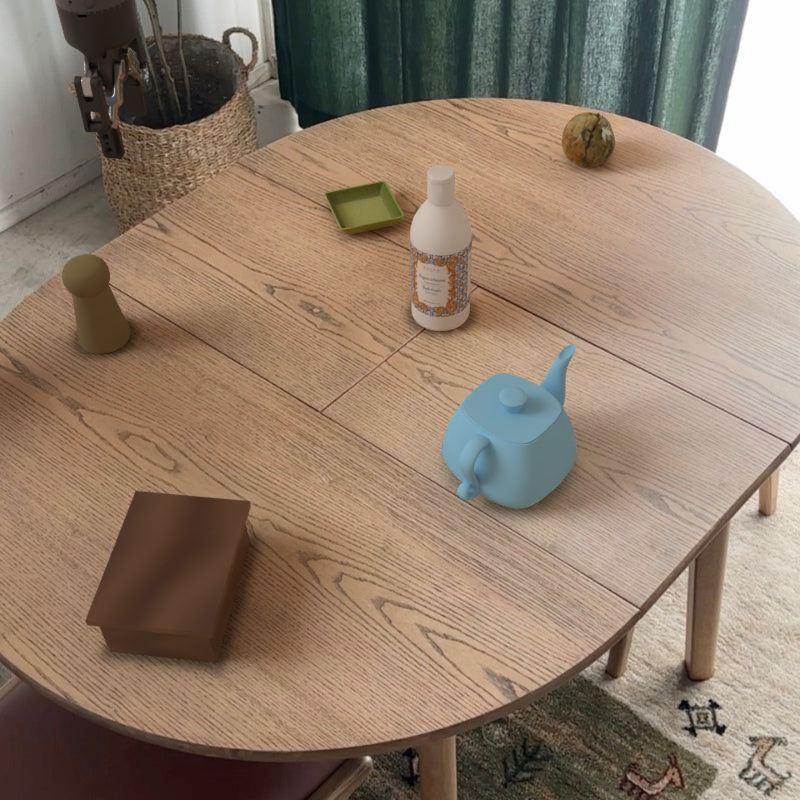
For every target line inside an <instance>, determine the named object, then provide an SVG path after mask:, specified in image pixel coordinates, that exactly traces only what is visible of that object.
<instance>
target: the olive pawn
mask: <svg viewBox="0 0 800 800" xmlns="http://www.w3.org/2000/svg"><path fill="white" fill-rule="evenodd" d="M61 280H62V284H63V286H64V288H66V290H67V291H68V292H69V294H71V297H72V304H73V310H74V318H75V323H76V324H75V325H76V330H77V337H78V342H79V346H80V347H81V348H82V349H83V350H84V351H86V352H88V353H90V354H95V355H99V354H100V355H105V354H108V353H112V352H115V351H117V350H120V349H121V348H122V347H124V346H125V345H126V344H127V342H128V341H129V340H130V338H131V334H132V333H131V328H130V326H129V324H128V322H127V319H126V317H125V316H124V313H123V311H122V309H121V307H120V305H119V303H118V301H117V299H116V296H115V295H114V293H113V290H112V288H111V286H110V281H111V273H110V269H109V265H108V263H107V262H106V261H105V260H104V259H103V258H101V257H100V256H98V255H96V254H91V253H87V254H84V253H83V254H80V255H79V254H78V255H77V256H74V257H71V258H70V259H69V260H67V261H66V263H65V264H64V265H63V267H62V271H61Z"/></svg>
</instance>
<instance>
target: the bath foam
mask: <svg viewBox="0 0 800 800" xmlns="http://www.w3.org/2000/svg"><path fill="white" fill-rule="evenodd" d="M426 185H427V186H426V187H427V189H426V190H427V191H426V192H427V198H426V200H424V202H423V203H422V204H421V205H420V206H419V208H418V209H417V211H416V213H415V214H414V216H413V218H412V221H411V225H410V231H409V260H410V261H409V265H410V267H409V268H410V269H409V270H410V301H411V302H410V303H411V315H412V318H413V319H414V321H415V322H416V323H417V324H418V325H419V326H421V327H422V328H424V329H427V330H430V331H435V332H447V331H452V330H454V329H457V328H460V327H461V326H462V325H463V324H464V323H465V322H466V321H467V319H468V318H469V315H470V314H471V313H470V311H471V293H472V292H471V291H472V258H473V256H472V254H473V231H472V225H471V221H470V219H469V216H468V214H467V212H466V210H465V209H464V208H463V207H462V205H461V204H460V203H459V201H458V200H456V197H455V193H456V192H455V191H456V173H455V170H454V168H453V167H451V166H450V165H447V164H435V165H433V166H431V167H429V169H428V170H427V174H426Z"/></svg>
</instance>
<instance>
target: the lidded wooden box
mask: <svg viewBox="0 0 800 800" xmlns="http://www.w3.org/2000/svg"><path fill="white" fill-rule="evenodd" d="M251 507H252V505H251V500H244V499H232V498H222V497H209V496H197V495H186V494H174V493H164V492H153V491H143V490H135V491H134V494H133V496H132V498H131V501H130V504H129V507H128V509H127V512H126V514H125V516H124V520H123V522H122V525H121V527H120V530H119V532H118V535H117V538H116V540H115V543H114V545H113V547H112V549H111V552H110V556H109V557H108V558H109V559H108V561H107V563H106V565H105V568H104V571H103V573H102V576H101V579H100V581H99V584H98V587H97V589H96V592H95V595H94V597H93V599H92V601H91V605H90V607H89V610H88V612H87V614H86V618H85V621H84V622H85V623H86V626H90V627H99V630H100V632H101V634H102V637H103V639H104V641H105V643H106V646H107V648H108V651H109V652H114V653H124V654H132V655H133V654H134V655H142V656H152V657H161V658H171V659H180V660H190V661H199V662H208V663H218V659H219V658H220V657H219V656H220V652H221V649H222V645H223V642H224V639H225V636H226V631H227V628H228V624H229V621H230V618H231V613H232V610H233V607H234V603H235V599H236V596H237V592H238V589H239V585H240V581H241V578H242V574H243V571H244V567H245V564H246V560H247V557H248V552H249V550H250V545H251V539H250V535H249V531H248V526H247V521H248V517H249V514H250V511H251Z"/></svg>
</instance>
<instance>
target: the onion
mask: <svg viewBox="0 0 800 800" xmlns="http://www.w3.org/2000/svg"><path fill="white" fill-rule="evenodd" d="M560 142H561V146H562V151H563V153H564V154H565V156H566V158H567V159H568V160H569V161H570V162H572V163H573V164H574V165H576V166H578V167H581V168H589V169H590V168H595V167H598V166H600V165H602V164H605V163H606V162H607V161H608V160H609V159H610V158H611V156H612V155H613V153H614V150H615V149H616V135H615V133H614V130H613V128H612V124H611V122H610V121H609V120H608V119H607V118H606V117H605V116H604V115H601V114H600V112H598V113H596V112H591V111H590V112H587V111H585V112H581V113H578V114H576V115H574V116H573V117H572V118H571V119H569V121H568V122H567V123H566V124H565V126H564V129H563V132H562V135H561V141H560Z"/></svg>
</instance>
